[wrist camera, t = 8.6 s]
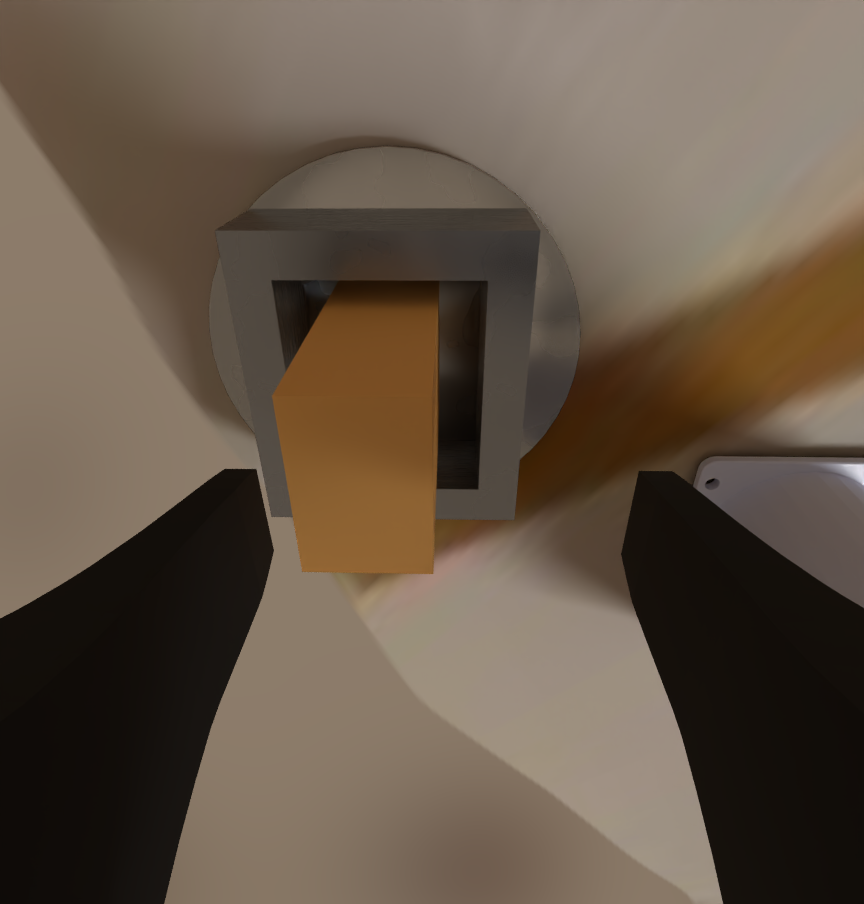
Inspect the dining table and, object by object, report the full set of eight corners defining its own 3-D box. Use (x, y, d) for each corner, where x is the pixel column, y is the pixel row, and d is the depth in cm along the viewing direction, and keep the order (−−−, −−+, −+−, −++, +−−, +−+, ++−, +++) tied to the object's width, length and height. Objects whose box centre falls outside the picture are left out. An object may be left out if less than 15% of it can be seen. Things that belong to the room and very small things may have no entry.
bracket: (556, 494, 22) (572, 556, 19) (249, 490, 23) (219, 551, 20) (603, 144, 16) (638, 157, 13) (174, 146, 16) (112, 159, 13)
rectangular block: (439, 276, 17) (432, 397, 11) (439, 407, 20) (433, 574, 13) (341, 276, 18) (272, 395, 11) (352, 407, 20) (302, 572, 13)
